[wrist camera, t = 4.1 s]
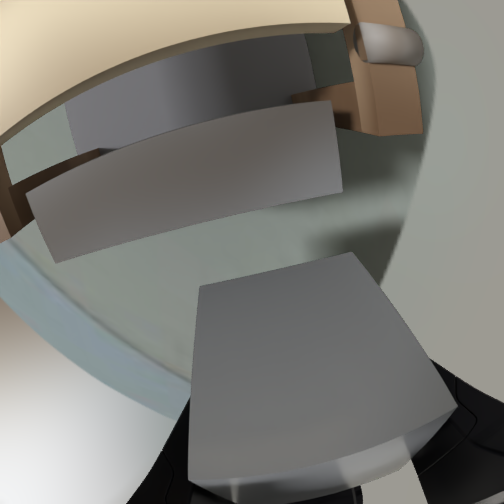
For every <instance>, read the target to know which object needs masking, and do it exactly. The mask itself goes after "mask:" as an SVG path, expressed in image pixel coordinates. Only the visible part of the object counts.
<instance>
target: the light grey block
mask: <svg viewBox="0 0 504 504" xmlns="http://www.w3.org/2000/svg"><path fill="white" fill-rule="evenodd" d="M457 407H458V405H457V404H456V402H455V400H454V398H453V397H452V395H451V393H450V391H449V390H448V388H447V386H446V385H445V383H444V381H443V380H442V378H441V376H440V375H439V373H438V371H437V370H436V368H435V367H434V365H433V363H432V362H431V360H430V359H429V357H428V356H427V354H426V353H425V351H424V349H423V348H422V346H421V345H420V343H419V342H418V340H417V339H416V337H415V336H414V334H413V333H412V332H411V330H410V329H409V327H408V326H407V324H406V323H405V321H404V320H403V319H402V317H401V316H400V314H399V313H398V311H397V310H396V309H395V307H394V306H393V304H392V303H391V302H390V300H389V299H388V298H387V296H386V295H385V294H384V292H383V291H382V290H381V288H380V287H379V286H378V284H377V283H376V282H375V280H374V279H373V278H372V276H371V275H370V274H369V272H368V271H367V270H366V269H365V267H364V266H363V265H362V264H361V262H360V261H359V260H358V258H357V257H356V256H355V255H354V253H353V252H348V253H344V254H340V255H336V256H331V257H327V258H323V259H319V260H315V261H311V262H306V263H302V264H298V265H293V266H289V267H285V268H280V269H276V270H272V271H267V272H263V273H258V274H254V275H249V276H245V277H240V278H236V279H231V280H227V281H222V282H217V283H213V284H208V285H203V286H200V288H199V297H198V307H197V317H196V328H195V339H194V352H193V365H192V380H191V397H190V417H189V446H188V480H189V481H191V482H193V483H195V484H197V485H199V486H200V487H202V488H204V489H206V490H208V491H210V492H212V493H214V494H217V495H219V496H221V497H223V498H225V499H227V500H230V501H232V502H234V503H237V504H287V503H293V502H298V501H303V500H308V499H313V498H317V497H321V496H325V495H329V494H333V493H336V492H340V491H343V490H347V489H350V488H353V487H356V486H359V485H362V484H365V483H368V482H371V481H373V480H376V479H379V478H381V477H384V476H386V475H389V474H391V473H393V472H396V471H398V470H400V469H401V468H402V467H403V466H404V465H405V464H406V463H407V462H408V461H409V460H410V459H411V458H412V457H413V456H414V455H415V454H416V453H417V452H418V451H419V450H420V449H421V448H422V447H423V446H424V445H425V444H426V443H427V442H428V441H429V440H430V439H431V438H432V437H433V436H434V434H435V433H436V432H437V431H438V430H439V429H440V428H441V426H442V425H443V424H444V423H445V422H446V421H447V419H448V418H449V417H450V416H451V414H452V413H453V412H454V411H455V409H456V408H457Z"/></svg>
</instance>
